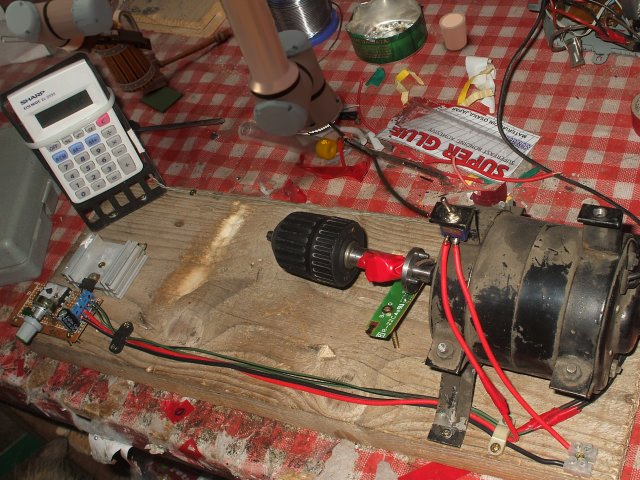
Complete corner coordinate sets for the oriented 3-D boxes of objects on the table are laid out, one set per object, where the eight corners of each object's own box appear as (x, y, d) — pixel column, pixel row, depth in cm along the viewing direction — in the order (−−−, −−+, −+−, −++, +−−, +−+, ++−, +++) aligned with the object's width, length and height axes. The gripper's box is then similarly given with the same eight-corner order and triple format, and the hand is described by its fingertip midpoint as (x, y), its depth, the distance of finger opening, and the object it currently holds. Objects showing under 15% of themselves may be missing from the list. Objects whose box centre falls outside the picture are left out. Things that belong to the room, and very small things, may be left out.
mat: (183, 95, 183) (182, 94, 182) (163, 113, 180) (162, 111, 180) (160, 84, 188) (159, 82, 188) (140, 100, 186) (139, 99, 186)
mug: (148, 93, 159) (113, 42, 146) (113, 95, 161) (76, 45, 149) (171, 53, 166) (140, 1, 154) (137, 55, 169) (104, 4, 157)
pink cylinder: (440, 41, 168) (435, 18, 163) (463, 31, 168) (459, 8, 162) (448, 55, 164) (444, 32, 159) (472, 45, 164) (469, 21, 158)
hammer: (133, 86, 187) (119, 55, 180) (229, 47, 199) (220, 16, 191) (142, 95, 184) (128, 64, 176) (239, 54, 195) (230, 23, 188)
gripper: (109, 6, 136) (167, 25, 158) (27, 22, 141) (94, 38, 162) (117, 42, 138) (173, 56, 159) (35, 57, 143) (100, 69, 164)
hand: (133, 47), depth 161 cm, fingers closed on mug, 9 cm apart
